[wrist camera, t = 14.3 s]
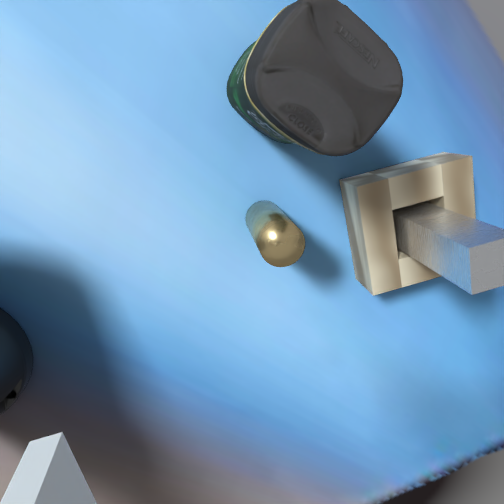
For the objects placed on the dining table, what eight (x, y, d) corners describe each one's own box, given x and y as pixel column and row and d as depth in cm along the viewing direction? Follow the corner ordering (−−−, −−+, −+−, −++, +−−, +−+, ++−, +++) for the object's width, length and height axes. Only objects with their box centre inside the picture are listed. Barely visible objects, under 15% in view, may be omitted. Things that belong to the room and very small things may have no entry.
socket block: (355, 278, 48) (373, 295, 44) (339, 179, 44) (356, 186, 40) (450, 251, 49) (478, 265, 44) (442, 152, 45) (472, 155, 40)
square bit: (390, 243, 45) (471, 294, 32) (386, 209, 44) (469, 248, 31) (424, 234, 46) (519, 281, 32) (421, 200, 44) (518, 234, 31)
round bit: (250, 240, 45) (265, 272, 36) (241, 205, 44) (254, 229, 34) (285, 230, 45) (309, 260, 36) (277, 196, 44) (300, 217, 35)
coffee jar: (212, 99, 40) (227, 83, 23) (259, 27, 39) (313, -50, 21) (289, 156, 43) (356, 182, 25) (335, 91, 41) (439, 70, 24)
